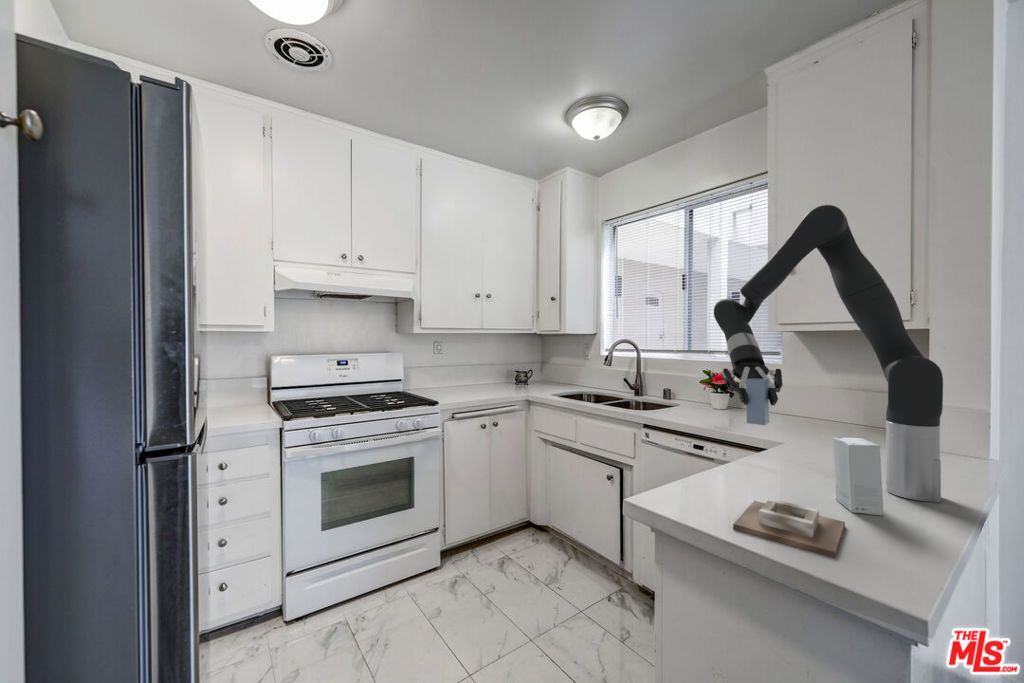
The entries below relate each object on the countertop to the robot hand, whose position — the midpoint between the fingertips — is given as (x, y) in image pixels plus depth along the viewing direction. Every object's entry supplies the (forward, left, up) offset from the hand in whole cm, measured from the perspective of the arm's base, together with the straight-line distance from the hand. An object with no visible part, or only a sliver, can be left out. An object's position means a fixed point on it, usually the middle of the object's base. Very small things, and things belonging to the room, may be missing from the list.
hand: (760, 403), depth 102 cm
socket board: (-9, +19, -22) cm, 30 cm away
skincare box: (-18, -3, -22) cm, 29 cm away
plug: (+1, -2, -5) cm, 6 cm away
